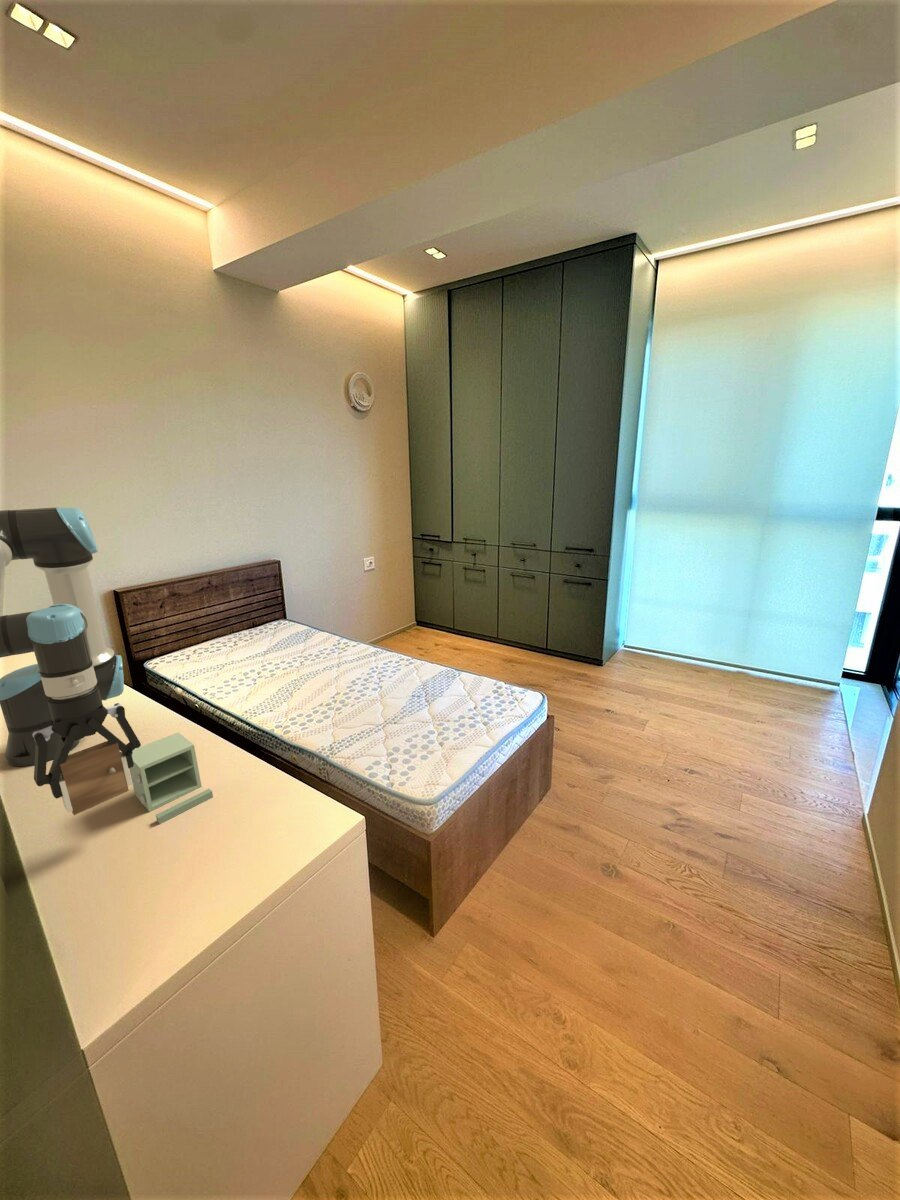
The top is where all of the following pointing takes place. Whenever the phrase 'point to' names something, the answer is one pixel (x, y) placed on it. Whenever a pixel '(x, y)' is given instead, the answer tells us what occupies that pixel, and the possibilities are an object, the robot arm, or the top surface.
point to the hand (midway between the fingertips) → (99, 795)
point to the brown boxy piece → (94, 776)
